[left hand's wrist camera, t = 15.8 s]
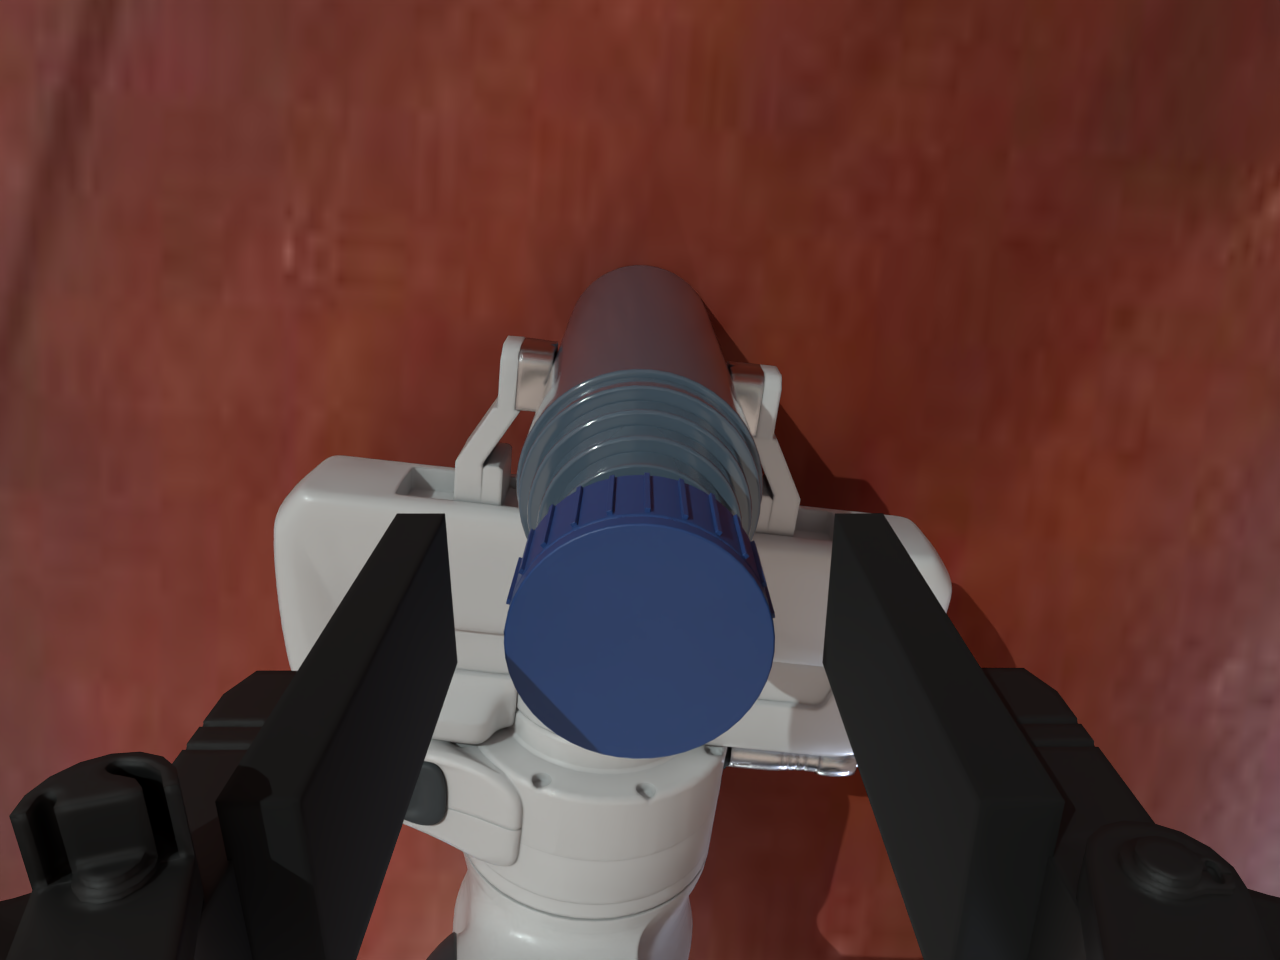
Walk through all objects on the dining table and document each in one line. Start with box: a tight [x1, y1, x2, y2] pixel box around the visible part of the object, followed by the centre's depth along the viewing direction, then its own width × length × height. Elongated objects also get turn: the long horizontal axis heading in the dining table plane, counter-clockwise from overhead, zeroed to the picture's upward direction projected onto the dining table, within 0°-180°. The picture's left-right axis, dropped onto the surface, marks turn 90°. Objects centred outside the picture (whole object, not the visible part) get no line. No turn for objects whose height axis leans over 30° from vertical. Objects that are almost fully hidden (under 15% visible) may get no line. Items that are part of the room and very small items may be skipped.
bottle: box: [516, 265, 763, 542], centre depth 23 cm, size 5×5×20 cm
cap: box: [504, 473, 775, 759], centre depth 14 cm, size 4×4×2 cm
